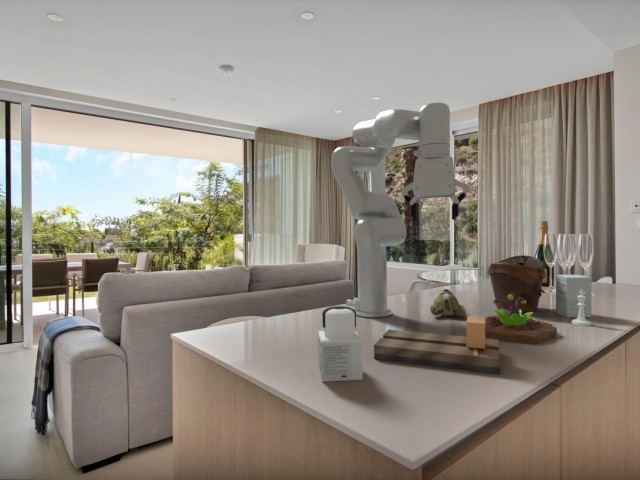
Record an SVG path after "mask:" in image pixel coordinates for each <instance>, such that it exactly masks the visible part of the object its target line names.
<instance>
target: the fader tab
mask: <svg viewBox="0 0 640 480" xmlns="http://www.w3.org/2000/svg"><path fill="white" fill-rule="evenodd" d="M485 318H486V317H485V316H483V317H482V316H473V315H467V317H466V323H465V324H466V326H465V327H466V329H465V330H466V332H465V334H466V336H465V337H466V347H472V348H482V349H485V338H486V337H485Z"/></svg>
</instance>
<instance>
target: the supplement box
mask: <svg viewBox="0 0 640 480" xmlns="http://www.w3.org/2000/svg"><path fill="white" fill-rule="evenodd" d="M592 280H593V278H592V277H591V276H587V275H583V274H555V313H556V314H558V315H561V316H563V317H565V318H577V317H578V314H579V307H580V306H579V305H577V304H578V303H580V302H579V299H578V297H577V296H579V295H580V293H578V291H581V289H582V290H583V292H585V294H583V296H585V297H586V298H585V300H584V304H586V306H583V307H584V315H585V318H592V288H593V287H592V286H593V285H592Z"/></svg>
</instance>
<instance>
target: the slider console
mask: <svg viewBox="0 0 640 480" xmlns="http://www.w3.org/2000/svg"><path fill="white" fill-rule="evenodd" d="M500 352H501V351H500V344H499V340H497V339H491V338H487V337H485V349H482V348H472V347H466V336H462V335H455V334H453V335H451V334H443V333H434V332H433V333H432V332H430V333H429V332H421V331H420V332H419V331H409V330H399V329H387V331H385V333H384V334H383V335H382V338H381V337H380V338H379V339H378V340H377V341H376V342H375V343H374V345H373V358H374V359H375V360H384V361H390V362H399V363H406V364H413V365H414V364H415V365H423V366H430V367H437V368H438V367H439V368H445V369H446V368H448V369H455V370H461V371H462V370H463V371H470V372H477V373H478V372H479V373H486V374H495V375H501V354H500Z"/></svg>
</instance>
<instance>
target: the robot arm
mask: <svg viewBox="0 0 640 480" xmlns="http://www.w3.org/2000/svg"><path fill="white" fill-rule="evenodd" d="M450 119H451V113H450V107H449V105H448V104H446V103H444V102H430V103H427V104H423V105H422V106H421V107H420V109H419V111H415V110H409V109H399V108H398V109H397V108H396V109H395V108H394V109H388V110H385V111H381V112H379V113H378V114H377V115H376V117H375V118H372V119H367V120H363V121H360V122H359V123H357V124H356V125H354V127H353V129H352V134H351V135H352V139H353V141H354V142H355V143H356V144H357V145H359V146H354V145H351V146H350V145H346V146H345V145H344V146H339V147H337V148H336V149H334V151H333V152H332V155H331V161H330V162H331V163H330V164H331V171H332V174H333V177H334V179H335V182H336V184H337V185H338V186H339V187H340V190H341V191H342V194H343V196H344V199H345V202H346V204H347V207H348V210H349V212H350V214H351V215H352V217H353V218H354V219H355V220H358V221H357V222H356V223H355V225H354V229H353V230H354V238H355V244H356V250H357V251H356V254H357V299H346V301H345V305H346V306H347V307H354V308H353V309H354V310H355V311H356V316H358V317H363V318H385V317H389V316H391V315H392V313H393V310H392V309H391V308H388V260H387V257H386V254H385V252H384V251H383V249H382V247H396V246H399V245H401V244H403V243H404V242H405V240H406V239H407V227H406V224H405V221H404V219H403V217H402V215H401V213H400V210H399V208H398V206H397V204H396V202H395V200H394V198H393V197H392V196H390V195H389V194H387V193H383V192H372V191H370V190H369V188H368V187H367V183H366V182H365V180H364V179H363V178H362V177H361V176H360V175H359V174H357V173H356V172H365V173H367V172H368V173H369V172H371V173H372V172H375V171H376V170H378V169H379V168H380V166H381V165H382V163H384V160H385V159H386V157H387V156H388V154H389V153H390V151H391V149H392V148H393V146H394V144H395V142H396V139H398V140H399V139H401V140H410V141H418V143H419V145H418V148H417V149H416V150H413V156H414V157H415V156H416V157H418V158H416V159H415V164H414V172H413V182H411V183H409V184H407V185H405V186H403V187H401V188H400V189H399V190H400V193H401V195H402V197H403V198H404V200H405V201H406V202H407V203H408V205H410V217H411V218H412V220H413V221H418V217H419V214H418V213H419V212H418V210H419V209H418V208H419V207H418V205H417V203H418V202H419V201H420V199H431V198H432V199H434V198H435V199H436V198H440V199H441V198H449V199H451V201H452V204H451V220H453V221H456V219H457V217H459V204H460V203H461V202H462V201H463V200H464V199H465V198H466V197H467V195H468V193H469V191H470V190H471V186H470V185H469V184H467V183H463V182H462V181H459V180H458V179H456V173H455V165H454V159H453V156H451V154H450V152H451V151H450V147H451V146H450V145H451V141H450V140H451V137H450V135H451V133H450V130H451V129H450V127H451V124H450V121H451V120H450ZM456 187H458V188H461V189H462V191H461V193H460V194H459V195H458V196H456V195H455V194H456V193H455V192H456ZM410 190H412V193H413V197H411V196H410V195H409V193H408V192H409V191H410Z"/></svg>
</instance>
